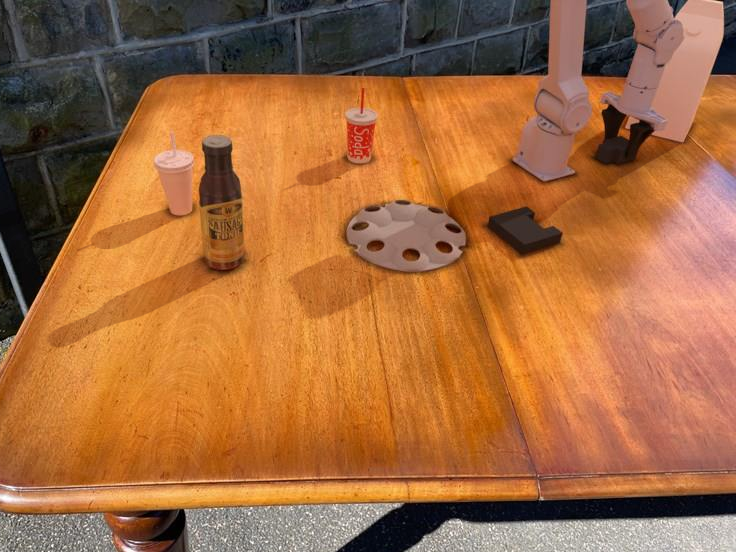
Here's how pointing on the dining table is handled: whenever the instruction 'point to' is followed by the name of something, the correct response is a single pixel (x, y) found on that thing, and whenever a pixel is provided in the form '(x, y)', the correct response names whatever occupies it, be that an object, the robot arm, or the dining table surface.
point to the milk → (688, 67)
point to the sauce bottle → (221, 206)
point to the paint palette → (406, 236)
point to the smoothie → (176, 178)
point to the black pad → (523, 230)
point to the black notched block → (613, 150)
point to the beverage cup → (360, 132)
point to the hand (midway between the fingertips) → (619, 150)
